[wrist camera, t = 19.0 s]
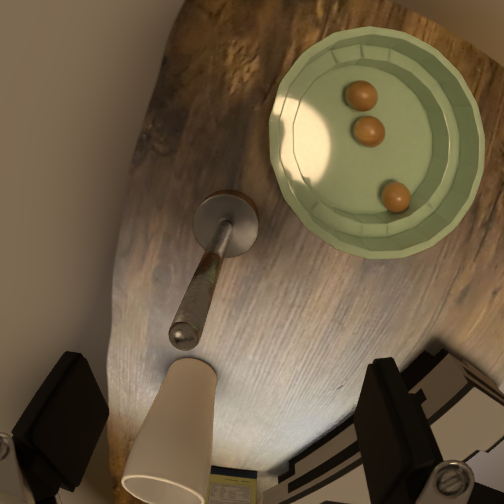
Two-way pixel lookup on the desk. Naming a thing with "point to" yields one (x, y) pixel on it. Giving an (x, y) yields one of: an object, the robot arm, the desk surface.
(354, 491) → the game console
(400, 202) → the bead
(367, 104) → the bead
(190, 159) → the desk surface
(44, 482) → the robot arm
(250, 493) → the protein box
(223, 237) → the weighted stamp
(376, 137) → the bead
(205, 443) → the drinking glass
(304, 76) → the bowl
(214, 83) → the desk surface
